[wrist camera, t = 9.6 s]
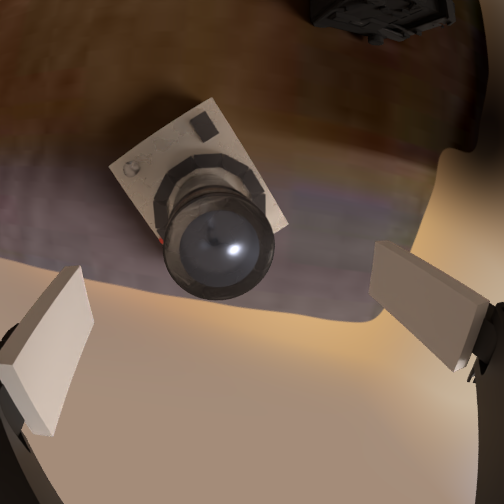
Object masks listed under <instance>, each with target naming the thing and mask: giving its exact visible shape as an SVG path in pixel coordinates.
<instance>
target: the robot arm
mask: <svg viewBox="0 0 504 504" xmlns="http://www.w3.org/2000/svg"><path fill="white" fill-rule="evenodd" d="M369 295H370V296H371V297H373V298H374V299H375V300H376V301H377V302H378V303H379V304H380V305H381V306H383V307H384V308H385V309H386V310H387V311H388V312H389V313H390V314H392V315H393V316H394V317H395V318H396V319H397V320H398V321H399V322H400V323H401V324H403V325H404V326H405V327H406V328H407V329H408V330H409V331H410V332H411V333H412V334H414V336H416V337H417V338H418V339H419V340H420V341H421V342H422V343H423V344H424V345H425V346H426V347H427V348H428V349H429V350H430V351H431V352H433V353H434V354H435V355H436V356H437V357H438V358H439V359H440V360H441V361H442V362H443V363H444V364H445V365H446V366H447V367H448V368H449V369H450V370H451V371H453V372H455V371H458V370H460V369H462V368H464V367H466V366H467V364H468V361H469V359H470V356H471V354H472V353H473V354H474V355H476V356H477V358H476V361H475V363H474V365H473V368H472V370H471V372H470V374H469V377H468V379H467V382H470V380H471V378H472V377H473V376H475V379H474V381H473V383H476V391H477V405H478V428H479V429H478V430H479V454H478V455H479V456H478V478H477V490H476V500H475V504H504V302H500V303H497V304H496V306H494V305H492V304H490V303H489V302H490V301H489V300H488V299H486V298H485V297H483V296H482V295H480V294H478V293H477V292H475V291H474V290H472V289H470V288H469V287H467V286H465V285H464V284H462V283H461V282H459V281H458V280H456V279H454V278H453V277H451V276H449V275H448V274H446V273H444V272H443V271H441V270H439V269H438V268H436V267H434V266H432V265H431V264H429V263H427V262H426V261H424V260H422V259H421V258H419V257H417V256H415V255H414V254H412V253H410V252H408V251H407V250H405V249H403V248H401V247H399V246H398V245H396V244H394V243H392V242H390V241H389V240H386V241H375V250H374V258H373V266H372V274H371V281H370V288H369ZM93 324H94V319H93V316H92V312H91V308H90V304H89V300H88V296H87V292H86V288H85V283H84V279H83V274H82V270H81V265H78V266H66V267H64V268H63V269H62V271H61V272H60V273H59V274H58V275H57V277H56V278H55V279H54V280H53V281H52V282H51V284H50V285H49V286H48V287H47V289H46V290H45V291H44V292H43V293H42V295H41V296H40V297H39V299H38V300H37V301H36V302H35V304H34V305H33V306H32V307H31V309H30V310H29V311H28V313H27V314H26V315H25V317H24V318H23V319H22V321H21V322H20V323H17V324H16V325H15V326H14V327H12V328H11V329H10V330H8V331H7V333H6V334H5V335H4V337H3V338H2V341H0V504H64V503H63V502H62V501H61V499H60V497H59V496H58V494H57V493H56V491H55V489H54V488H53V486H52V485H51V483H50V481H49V480H48V478H47V476H46V474H45V473H44V471H43V469H42V467H41V466H40V464H39V462H38V460H37V458H36V456H35V454H34V453H33V451H32V449H31V447H30V445H29V443H28V441H27V438H26V437H25V435H24V434H23V432H22V431H21V429H22V426H23V424H24V421H25V423H26V424H27V426H28V427H29V429H30V430H31V431H32V433H33V434H37V435H44V436H52V437H53V435H54V432H55V428H56V425H57V422H58V419H59V415H60V413H61V409H62V406H63V403H64V400H65V397H66V394H67V391H68V389H69V386H70V383H71V380H72V377H73V375H74V372H75V369H76V367H77V364H78V361H79V359H80V356H81V354H82V351H83V349H84V346H85V344H86V341H87V339H88V336H89V334H90V332H91V329H92V326H93Z"/></svg>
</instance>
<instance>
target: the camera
mask: <svg viewBox="0 0 504 504" xmlns="http://www.w3.org/2000/svg"><path fill="white" fill-rule="evenodd" d="M310 9H311V22H313V24H314V26H316V27H322V28H325V27H334V28H338V29H342V30H346V31H350V32H354V33H358V34H361V35H365V36H368V43H370V44H372V45H382V44H383V39H384V38H390V39H393V40H396V41H398V42H399V41H404V40H405V39H407V38H409V37H410V35H413V34H417V35H420V36H421V34H422V33H421V32H422V31H425V30H428V29H431V28H434V27H438V26H441V24H439V23H443V24H446V23H447V25H451V24H453V23H454V22H455V21H456V19H455V6H454V3H453V2H452V0H310ZM442 28H444V26H443V25H442Z"/></svg>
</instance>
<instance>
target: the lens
mask: <svg viewBox="0 0 504 504" xmlns="http://www.w3.org/2000/svg"><path fill="white" fill-rule="evenodd" d="M274 249H275V240H274V234H273V230H272V227H271V225H270V223H269V221H268V219H267V217H266V216H265V214H264V213H263V212H262V211H261V210H260V209H259V208H258V207H257V206H256V205H255V204H254V203H252V202H251V201H250V200H249V199H248V198H247V197H246V196H245V195H243V194H242V193H241V192H239V191H238V190H236V189H235V188H234V187H233V186H232V185H230V184H229V183H228V182H227V181H226V180H224V179H222V178H220V177H218V176H214V175H200V176H196V177H194V178H192V179H190V180H188V181H187V182H186V183H184V184H183V185H182V187H181V188H180V189H179V191H178V192H177V195H176V197H175V200H174V204H173V209H172V211H171V214H170V216H169V220H168V224H167V228H166V232H165V236H164V241H163V256H164V261H165V264H166V267H167V270H168V272H169V274H170V275H171V277H172V278H173V280H174V281H175V282H176V283H177V284H178V285H179V286H180V287H181V288H182V289H184V290H185V291H187V292H188V293H190V294H192V295H194V296H196V297H199V298H203V299H207V300H226V299H231V298H235V297H238V296H240V295H243V294H244V293H246V292H248V291H249V290H251V289H252V288H254V287H255V286H256V285H257V284H258V283H259V282H260V281H261V280H262V279H263V278H264V276H265V275H266V273H267V272H268V270H269V268H270V266H271V263H272V260H273V256H274Z"/></svg>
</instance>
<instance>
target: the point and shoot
mask: <svg viewBox="0 0 504 504" xmlns="http://www.w3.org/2000/svg"><path fill="white" fill-rule="evenodd" d="M108 167H109V168H110V170H111V171H112V173H113V174H114V176H115V177H116V179H117V180H118V182H119V183H120V185H121V186H122V188H123V189H124V191H125V192H126V193H127V195H128V196H129V198H130V199H131V201H132V202H133V204H134V205H135V206H136V208H137V209H138V211H139V212H140V214H141V215H142V216H143V218H144V219H145V221H146V222H147V223H148V225H149V226H150V228H151V229H152V230H153V232H154V233H155V235H156V236H157V237H158V239H159V241H160V242H161V244H163V241H164V236H165V232H166V228H167V224H168V220H169V216H170V214H171V211H172V209H173V204H174V200H175V197H176V195H177V192H178V191H179V189H180V188H181V187H182V185H183V184H184V183H186V182H187V181H188V180H190V179H192V178H194V177H196V176H200V175H214V176H218V177H220V178H222V179H224V180H226V181H227V182H228V183H229V184H230V185H232V186H233V187H234V188H235V189H236V190H238V191H239V192H241V193H242V194H243V195H245V196H246V197H247V198H248V199H249V200H250V201H251V202H252V203H254V204H255V205H256V206H257V207H258V208H259V209H260V210H261V211H262V212H263V213H264V214H265V216H266V217H267V219H268V221H269V223H270V225H271V227H272V230H273V234H274V233H275V232H277V231H279V230H280V229H282V228H283V227H285V226H286V225H288V222H287V221H286V219H285V217H284V215H283V214H282V212H281V210H280V208H279V207H278V205H277V203H276V202H275V200H274V198H273V196H272V195H271V193H270V191H269V190H268V188H267V186H266V184H265V183H264V181H263V179H262V178H261V176H260V174H259V173H258V171H257V169H256V168H255V166H254V164H253V163H252V161H251V159H250V158H249V156H248V154H247V153H246V151H245V150H244V148H243V146H242V145H241V143H240V141H239V140H238V138H237V137H236V135H235V133H234V132H233V130H232V128H231V127H230V125H229V124H228V122H227V120H226V119H225V117H224V116H223V114H222V113H221V111H220V109H219V108H218V106H217V105H216V103H215V102H214V100H213V98H212V97H211V98H210V99H208V100H206V101H205V102H203V103H201V104H199V105H198V106H196V107H194V108H193V109H191V110H190V111H188V112H186V113H185V114H183V115H181V116H180V117H178V118H177V119H175V120H174V121H172V122H170V123H169V124H167V125H166V126H164V127H163V128H161V129H160V130H158V131H157V132H155V133H154V134H152V135H151V136H149V137H148V138H147V139H145V140H144V141H142V142H141V143H139V144H138V145H137V146H135V147H134V148H132V149H131V150H130V151H128V152H127V153H126V154H124V155H123V156H122V157H120V158H119V159H118V160H116V161H115V162H114V163H112V164H111V165H110V166H108Z"/></svg>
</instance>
